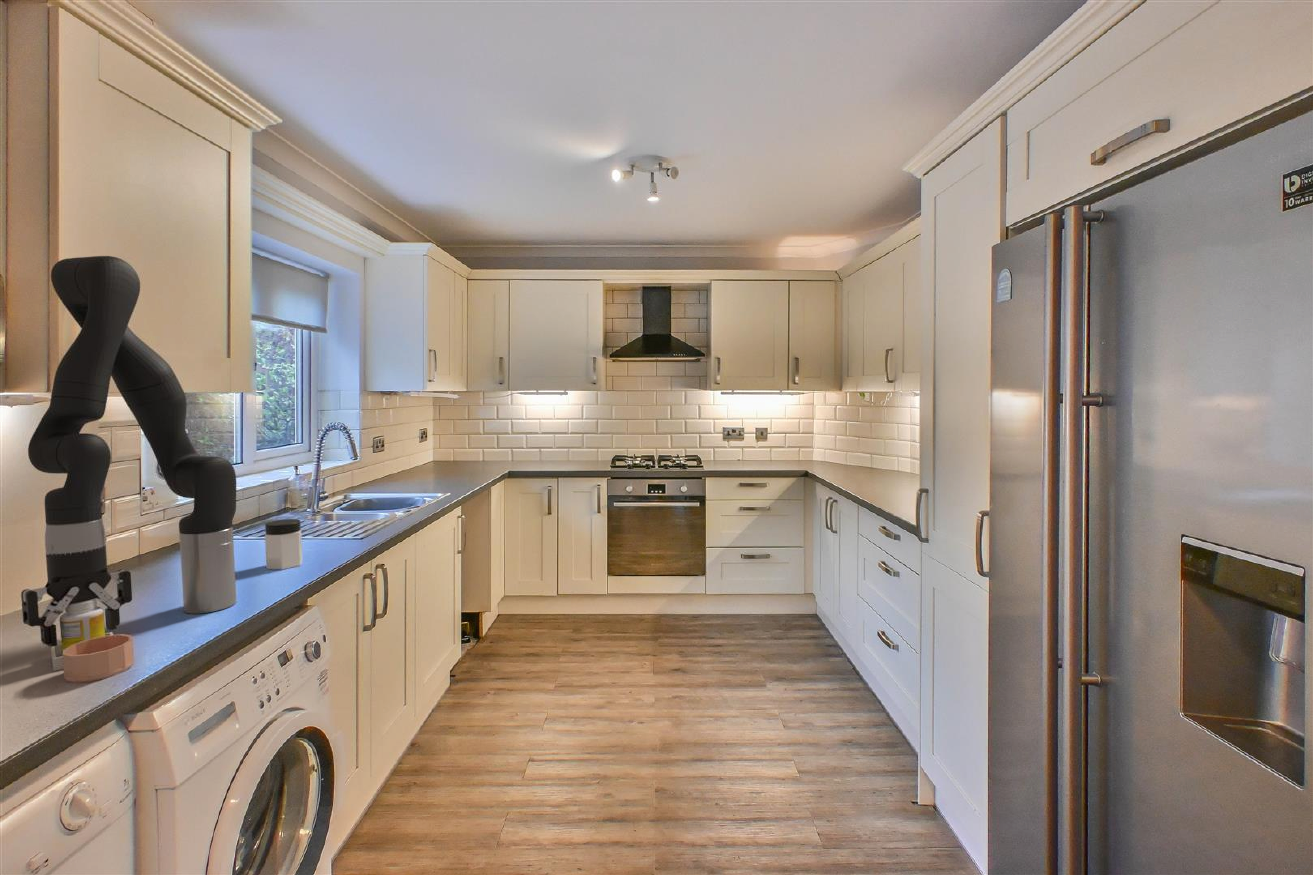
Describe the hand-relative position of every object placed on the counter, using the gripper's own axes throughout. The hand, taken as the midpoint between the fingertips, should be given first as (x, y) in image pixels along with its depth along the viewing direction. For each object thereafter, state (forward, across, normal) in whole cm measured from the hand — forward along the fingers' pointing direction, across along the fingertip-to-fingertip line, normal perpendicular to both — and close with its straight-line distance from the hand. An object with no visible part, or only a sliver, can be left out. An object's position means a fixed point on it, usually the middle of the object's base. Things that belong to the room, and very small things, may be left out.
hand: (82, 636), depth 103 cm
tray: (+4, 0, 0) cm, 4 cm away
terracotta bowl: (+4, +1, +10) cm, 10 cm away
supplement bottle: (+4, 0, 0) cm, 4 cm away
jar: (+4, -50, -24) cm, 56 cm away
